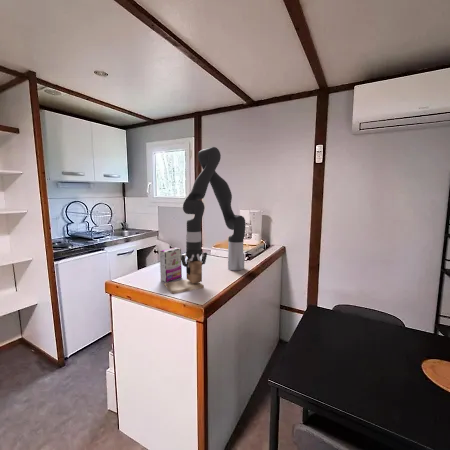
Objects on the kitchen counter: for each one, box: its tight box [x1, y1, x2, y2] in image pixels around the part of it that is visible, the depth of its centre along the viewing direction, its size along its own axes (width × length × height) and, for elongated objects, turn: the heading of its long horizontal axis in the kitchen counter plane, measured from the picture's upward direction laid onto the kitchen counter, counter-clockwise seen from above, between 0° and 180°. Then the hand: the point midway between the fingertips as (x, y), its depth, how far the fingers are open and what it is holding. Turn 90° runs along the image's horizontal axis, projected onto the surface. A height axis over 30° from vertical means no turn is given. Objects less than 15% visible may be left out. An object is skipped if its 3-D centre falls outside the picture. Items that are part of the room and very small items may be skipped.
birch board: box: [164, 278, 205, 294], centre depth 127 cm, size 16×12×1 cm
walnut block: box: [185, 259, 203, 283], centre depth 129 cm, size 5×8×10 cm, turn 30°
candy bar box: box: [159, 246, 183, 283], centre depth 137 cm, size 11×5×16 cm, turn 143°
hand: (194, 273), depth 129 cm, fingers closed on walnut block, 5 cm apart
